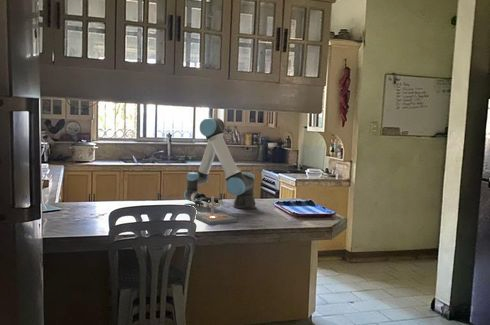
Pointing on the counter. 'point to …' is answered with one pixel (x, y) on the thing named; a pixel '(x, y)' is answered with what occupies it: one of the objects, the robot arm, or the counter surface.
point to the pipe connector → (212, 205)
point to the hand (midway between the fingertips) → (215, 204)
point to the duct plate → (215, 218)
